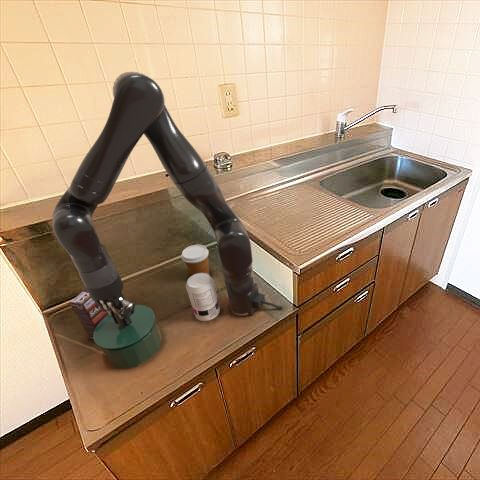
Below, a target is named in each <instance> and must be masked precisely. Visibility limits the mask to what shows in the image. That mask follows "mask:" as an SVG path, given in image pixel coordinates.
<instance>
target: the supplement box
mask: <svg viewBox="0 0 480 480" xmlns="http://www.w3.org/2000/svg"><path fill="white" fill-rule="evenodd" d="M69 304H70V306H71V308H72V309H73V312H74V313H75V315H76V317H77V318H78V320H79V321H80V323H81V325H82V327H83V329H84V330H85V332H86V334H87V335H88V337H89V338H90V339H93V340H94V338H93V334H94V330H95V328H96V326H97V325H98V324H99V322H100V321H101V320H102V319H103V318H105V317H106V316H107V315H109V314H108V312H107V311H106V312H104V311H103V310H102V309H101V308H100V307H99V306H98V305H97V304H96V303H95V302H94V300H93V299H92V298H91V297H90V294H89V292H88V291H87V289H86V288H85V289H84V290H83V291H82V292H81V293H79V294H78V295H77V296H75V298H73V299H72V300H70V301H69Z"/></svg>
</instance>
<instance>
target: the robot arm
mask: <svg viewBox="0 0 480 480" xmlns="http://www.w3.org/2000/svg"><path fill="white" fill-rule="evenodd" d="M112 96H113V101H112V104H111V108H110V112H109V114H108V117H107V120H106V122H105V125H104V126H103V129H102V130H101V133H100V134H99V136H98V138H97V139H96V140H95V141H94V143H93V144H92V146H91V147H90V148H89V150H88V152H87V153H86V155H85V156H84V158H83V159H82V161H81V163H80V165H79V166H78V168H77V170H76V173H75V174H74V176H73V178H72V180H71V183H70V185H69V187H68V188H67V190H65V192H64V193H63V194H62V196H61V197H60V199H59V200H58V201H57V203H56V205H55V207H54V209H53V211H52V216H51V218H52V220H51V221H52V230H53V233H54V235H55V237H56V239H57V240H58V242H59V243H60V245H61V246H62V247H63V249H64V250H65V251H66V252H67V253H68V255H69V256H70V259H71V261H72V262H73V264H74V266H75V268H76V270H77V272H78V275H79V278H80V280H81V281H82V283H83V285H84V287H85V289H87V291H88V292H89V294H90V297H91V298H92V299H93V300H94V302H95V303H96V304H97V305H98V306H99V307H100V308H101V309H102V310H103V311H104V312H106V311H107V312H108V314H109V315H111V316H112V318H113V320H114V322H115V323H116V324H118V322H117V320H116V318H115V316H114V313H116V314H117V315H118V316H119V318H120V320H121V322H122V324H123V326H124V327H128V326H129V325H130V324H131V323H132V321H131V318H130V316H131V315H132V314H133V313H134V309H135V305H136V302H135V301H133V300H131V301H128V300H126V296H125V295H124V294H123V288H124V282H123V281H122V278H121V276H120V273H119V272H118V269H117V267H116V265H115V263H114V262H113V260H112V259H111V258H110V255H109V253H108V250H107V249H106V247H105V245H104V243H103V242H102V241H101V240H100V238H99V235H98V233H97V231H96V228H95V225H94V221H93V215H94V214H95V213H94V212H95V211H96V209H97V207H98V206H99V205H102V204H103V203H104V202H105V201H106V200H107V199H108V197H109V196H110V194H111V192H112V190H113V188H114V187H115V184H116V182H117V181H118V179H119V177H120V175H121V173H122V171H123V168H124V167H125V165H126V163H127V161H128V159H129V157H130V155H131V153H132V152H133V150H134V149H135V147H136V145H137V144H138V142H139V140H141V138H142V137H143V136H145V137H146V139H147V141H148V142H149V143H150V145H151V146H152V148H153V150H154V152H155V154H156V156H157V157H158V159H159V161H160V163H161V165H162V167H163V169H164V170H165V172H166V174H167V175H168V177H169V178H170V180H171V181H172V183H173V184H174V185H175V187H176V188H177V190H178V191H179V192H180V194H181V195H182V196H183V197H184V198H185V200H186V201H187V202H188V203H189V204H191V205H192V206H193V207H194V208H196V209H197V210H198V211H199V212H201V213H202V214H203V216H204V217H205V219H206V221H207V222H208V224H209V225H210V227H211V229H212V231H213V233H214V236H215V241H216V245H217V251H218V255H219V260H220V265H221V270H222V274H223V279H224V283H225V288H226V293H227V297H228V302H229V308H230V311H231V313H232V314H233V315H235V316H238V317H247V316H253V315H254V313H255V312H256V311H257V309H258V310H260V309H261V308H262V306H264V305H267V306H272V307H274V308H276V309H279V310H282V309H283V306H279V305H277V304H275V303H272V302H269V301H266V298H265V294H264V293H261V292H260V291H259V285H258V283H256V282H255V276H254V267H253V253H252V251H253V250H252V244H251V239H250V236H249V234H248V230H247V228H246V226H245V225H244V223H243V222H242V221H241V220H240V218H239V217H238V215H237V214H235V211H233V209H232V208H231V207H230V206H229V204H228V202H227V201H226V198H225V196H224V194H223V192H222V191H221V188H220V186H219V184H218V183H217V181H216V179H215V177H214V175H213V173H212V172H211V170H210V169H209V167H208V165H207V164H206V162H205V160H204V159H203V158H202V157H201V156H200V154H199V153H198V151H197V149H196V148H195V147H194V146H193V145H192V144H191V143H190V141H189V140H188V139H187V138H186V137H185V135H184V134H183V133H182V132H181V130H180V129H179V127H178V126H177V124H176V123H175V121H174V119H173V118H172V115H171V114H170V112H169V109H168V108H167V106H166V103H165V95H164V92H163V90H162V88H161V86H160V85H159V84H158V83H157V82H156V81H155V80H154V79H153V78H152V77H149V76H148V75H145V74H143V73H141V72H137V71H125V72H123V73H121V74H119V75H118V76H117V77H116V78H115V80H114V82H113V84H112ZM123 310H124V312H123V313H121V312H122V311H123Z"/></svg>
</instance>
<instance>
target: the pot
mask: <svg viewBox="0 0 480 480" xmlns="http://www.w3.org/2000/svg"><path fill="white" fill-rule="evenodd" d="M162 342H163V336H162V332H161V330H160V327H159V325H158V323H157V320H156V319H155V322H154V325H153V327H152V329H151V330H150V331H149V332H148V333H147V334H146V335H145V336H144V337H143V338H142V339H140V340H139V341H137V342H135V343H133V344H131V345H129V346H126V347H123V348H119V349H104V348H101V347H100V349H101V350H102V352H103V354H104V355H105V357H106V358H107V360H108V362H109V364H110V365H111V366H112V367H114V368H116V369H121V370H127V369H133V368H136V367H139V365H141V364H143V363H145V362H147V361H148V360H149V359H151V358H152V357H154V355H155V354H156V353H157V352H158V351H159V349H160V347H161V344H162Z"/></svg>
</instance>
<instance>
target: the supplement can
mask: <svg viewBox="0 0 480 480" xmlns="http://www.w3.org/2000/svg"><path fill="white" fill-rule="evenodd" d="M185 288H186V292H187V295H188V299H189V301H190V305H191V309H192V311H193V315H194V317H195V319H196V320H198V321H199V322H208V321H211V320H213V319H215V318H216V317H217V316H218V315H219V314H220V311H221V307H220V303H219V298H218V295H217V294H218V293H217V289H216V286H215V281H214V279H213V277H212V276H211V275H210V273H209V274H207V273H197V274H194V275H192V276H191V275H190V276H189V277H188V279H187V281H186V285H185Z"/></svg>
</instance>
